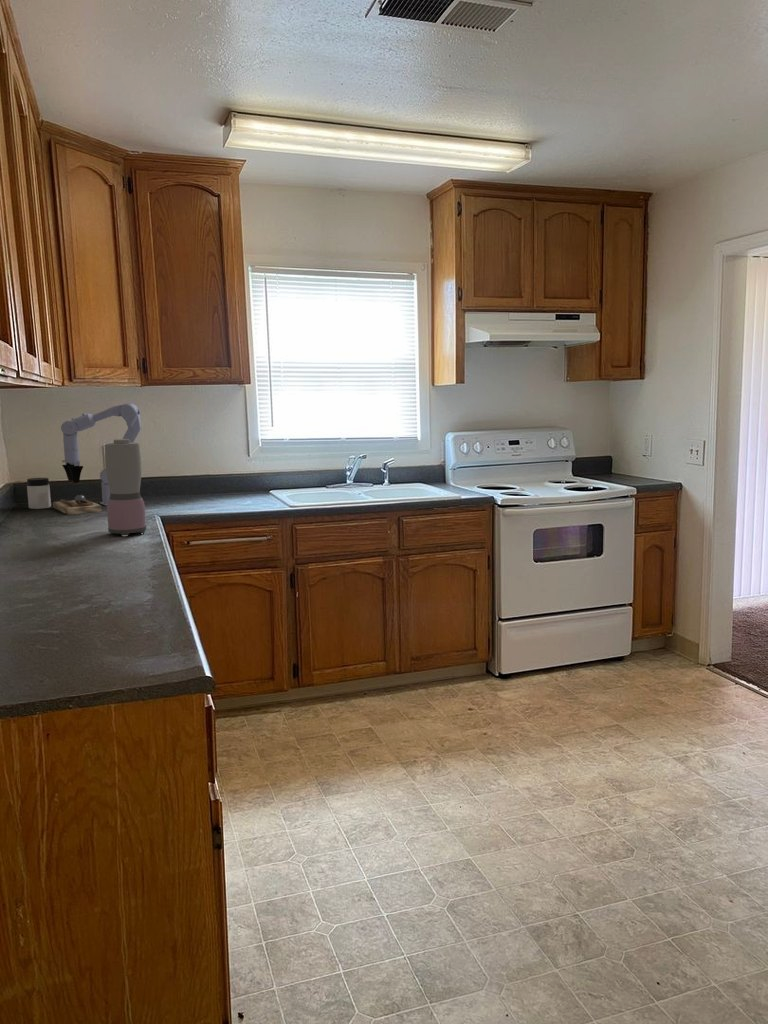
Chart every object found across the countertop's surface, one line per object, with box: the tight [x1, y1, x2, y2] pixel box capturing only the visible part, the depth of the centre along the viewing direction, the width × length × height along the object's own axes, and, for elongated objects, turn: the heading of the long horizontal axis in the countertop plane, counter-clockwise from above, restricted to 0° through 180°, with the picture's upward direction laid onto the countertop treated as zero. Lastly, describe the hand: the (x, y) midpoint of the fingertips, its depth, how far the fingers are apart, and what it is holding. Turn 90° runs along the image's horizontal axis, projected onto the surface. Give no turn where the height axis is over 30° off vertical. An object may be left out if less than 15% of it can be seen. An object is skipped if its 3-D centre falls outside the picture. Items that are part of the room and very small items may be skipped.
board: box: [52, 498, 103, 516], centre depth 305 cm, size 13×22×3 cm, turn 37°
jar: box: [26, 477, 52, 510], centre depth 311 cm, size 9×8×12 cm
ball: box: [74, 494, 87, 504], centre depth 304 cm, size 4×4×4 cm
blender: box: [104, 438, 147, 536], centre depth 253 cm, size 16×12×32 cm
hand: (73, 481), depth 317 cm, fingers open, 7 cm apart
